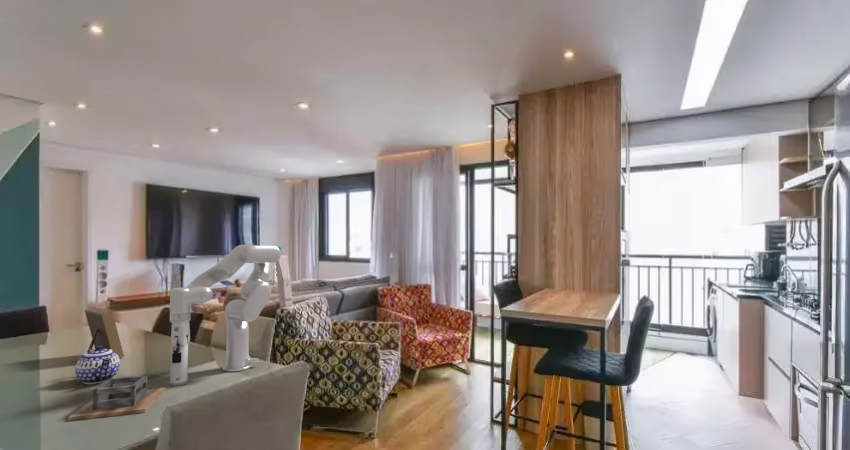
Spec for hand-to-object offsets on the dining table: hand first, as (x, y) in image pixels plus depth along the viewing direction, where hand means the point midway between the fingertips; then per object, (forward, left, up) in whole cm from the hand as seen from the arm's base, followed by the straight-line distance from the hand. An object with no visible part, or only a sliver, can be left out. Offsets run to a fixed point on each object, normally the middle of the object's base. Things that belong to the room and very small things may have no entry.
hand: (179, 359), depth 170 cm
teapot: (+35, -16, -10) cm, 40 cm away
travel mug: (0, 0, -10) cm, 10 cm away
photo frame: (+51, -55, -10) cm, 76 cm away
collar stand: (+14, +18, -10) cm, 25 cm away
